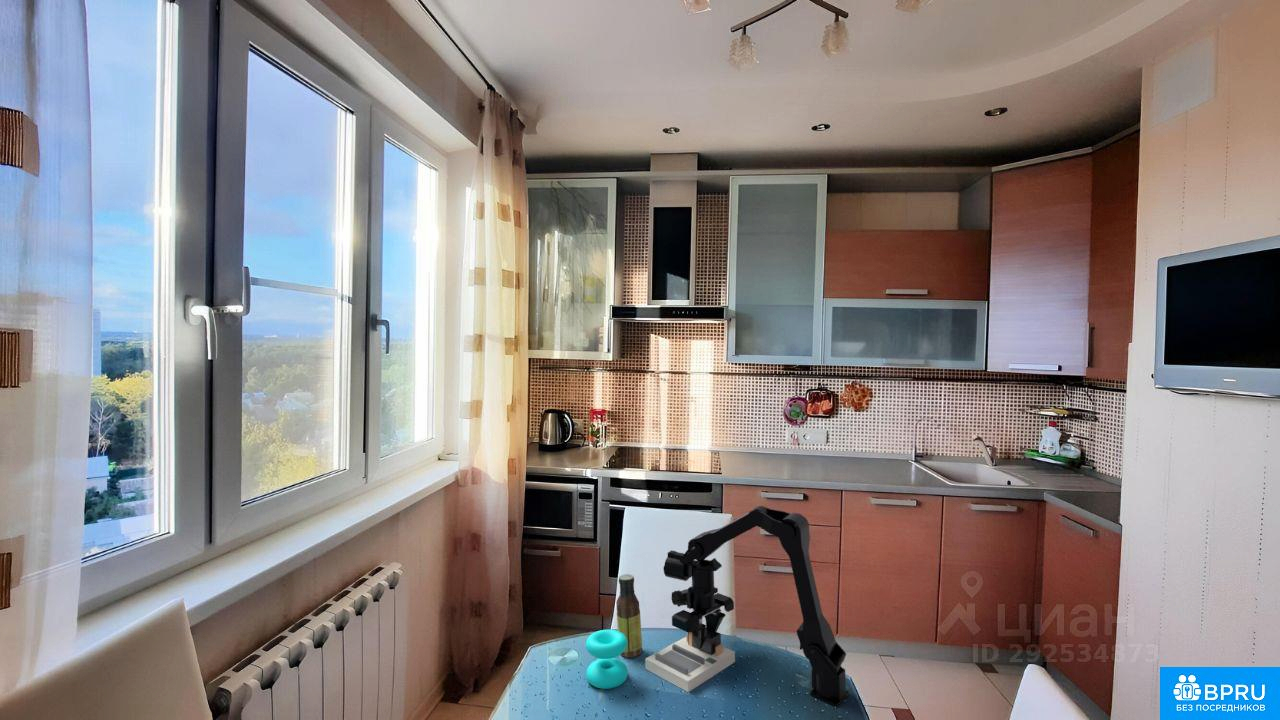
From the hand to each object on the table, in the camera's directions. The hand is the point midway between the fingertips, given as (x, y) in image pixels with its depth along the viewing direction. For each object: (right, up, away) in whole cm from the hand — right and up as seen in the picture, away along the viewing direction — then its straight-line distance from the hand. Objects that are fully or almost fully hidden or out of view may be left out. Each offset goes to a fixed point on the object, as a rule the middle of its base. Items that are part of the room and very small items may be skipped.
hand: (704, 645), depth 138 cm
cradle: (-4, -3, -4) cm, 6 cm away
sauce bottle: (-19, -4, +3) cm, 20 cm away
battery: (0, -1, 0) cm, 0 cm away
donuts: (-25, -4, -9) cm, 26 cm away
